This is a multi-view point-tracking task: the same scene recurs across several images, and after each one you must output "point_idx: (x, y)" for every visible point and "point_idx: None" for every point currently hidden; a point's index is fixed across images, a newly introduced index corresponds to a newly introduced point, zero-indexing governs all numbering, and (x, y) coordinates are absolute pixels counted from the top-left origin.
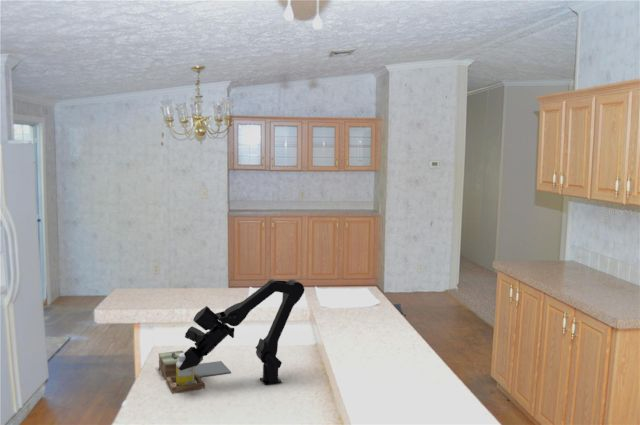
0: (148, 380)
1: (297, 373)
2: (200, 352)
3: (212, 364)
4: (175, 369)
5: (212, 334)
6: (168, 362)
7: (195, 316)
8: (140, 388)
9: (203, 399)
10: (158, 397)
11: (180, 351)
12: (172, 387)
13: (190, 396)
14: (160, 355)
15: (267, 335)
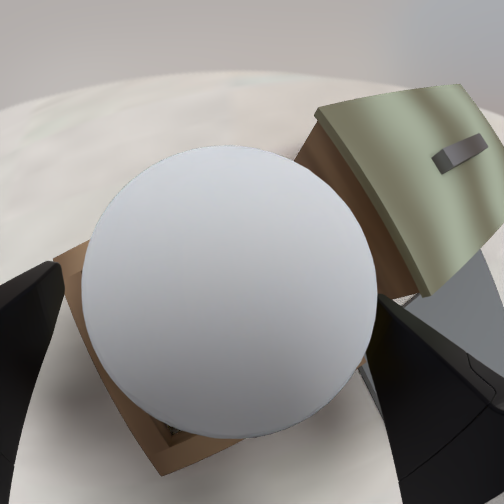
0: (275, 97)
1: None
2: (440, 471)
3: (499, 364)
4: (345, 198)
5: None
6: (368, 124)
7: None
8: (162, 87)
9: (17, 461)
10: (27, 204)
11: None
12: (62, 257)
13: (36, 390)
14: (445, 88)
15: None
